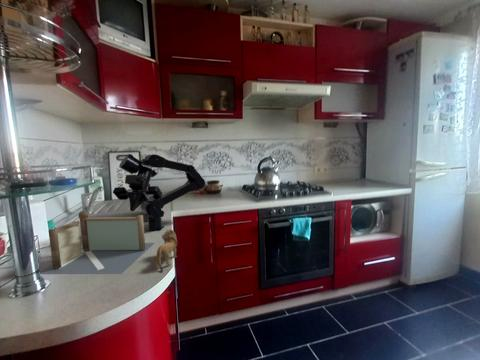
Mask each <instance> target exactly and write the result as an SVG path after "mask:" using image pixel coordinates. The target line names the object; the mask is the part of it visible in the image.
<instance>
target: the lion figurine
mask: <svg viewBox="0 0 480 360" xmlns="http://www.w3.org/2000/svg"><path fill="white" fill-rule="evenodd" d="M161 239H162V240H163V241H164V244H162V245H159V247H158V248H157V250H156V261H155V264H154V265H155V271H159V270H160V273H163V271H164V267H162V261H161V259H162V256H163V258H164V259H165V264H166V265H167V267H170V266H173V264H172V263H170V254H171V253H173V254H172V257H173V258H177V257H178V256H177V245H178V239H177V234H176V232H175V230H174V229H170V228H169V229H166V230H165V232H164V234H163V235H161Z"/></svg>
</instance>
